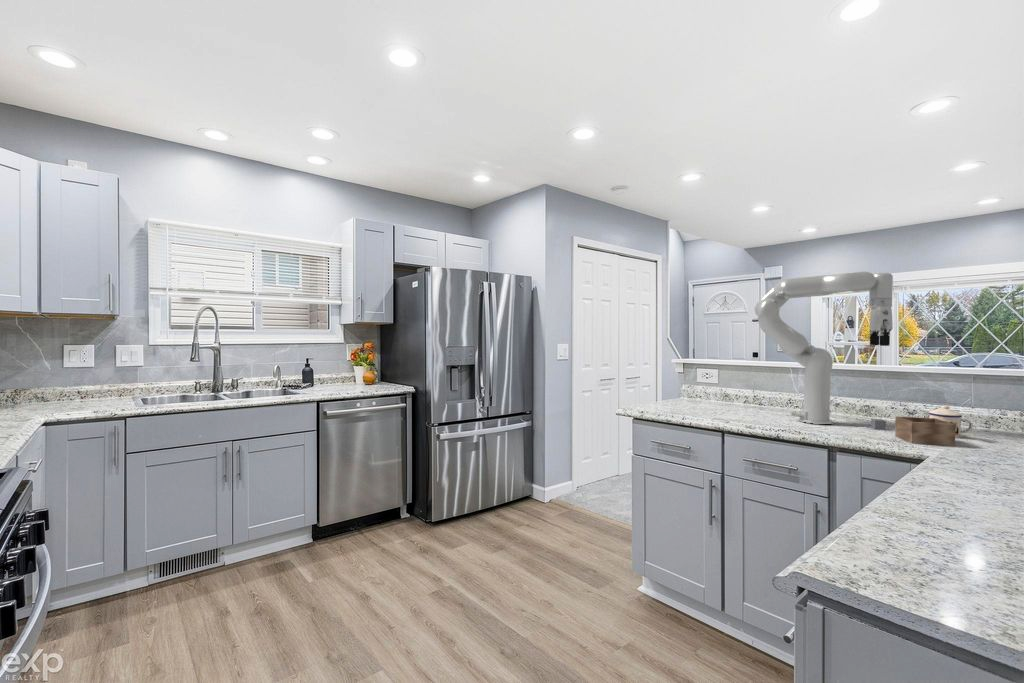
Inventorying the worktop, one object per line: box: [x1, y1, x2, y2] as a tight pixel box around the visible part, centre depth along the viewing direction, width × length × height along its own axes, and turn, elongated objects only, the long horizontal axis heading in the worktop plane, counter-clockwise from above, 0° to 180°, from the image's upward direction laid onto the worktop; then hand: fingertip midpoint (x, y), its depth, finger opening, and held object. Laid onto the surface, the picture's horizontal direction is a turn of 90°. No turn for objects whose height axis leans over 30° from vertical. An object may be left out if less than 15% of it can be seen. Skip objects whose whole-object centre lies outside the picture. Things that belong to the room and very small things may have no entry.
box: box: [894, 415, 956, 447], centre depth 167 cm, size 12×12×8 cm
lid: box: [864, 418, 895, 431], centre depth 188 cm, size 14×14×5 cm
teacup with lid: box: [928, 405, 974, 439], centre depth 176 cm, size 12×9×12 cm
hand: (879, 345), depth 197 cm, fingers open, 9 cm apart
